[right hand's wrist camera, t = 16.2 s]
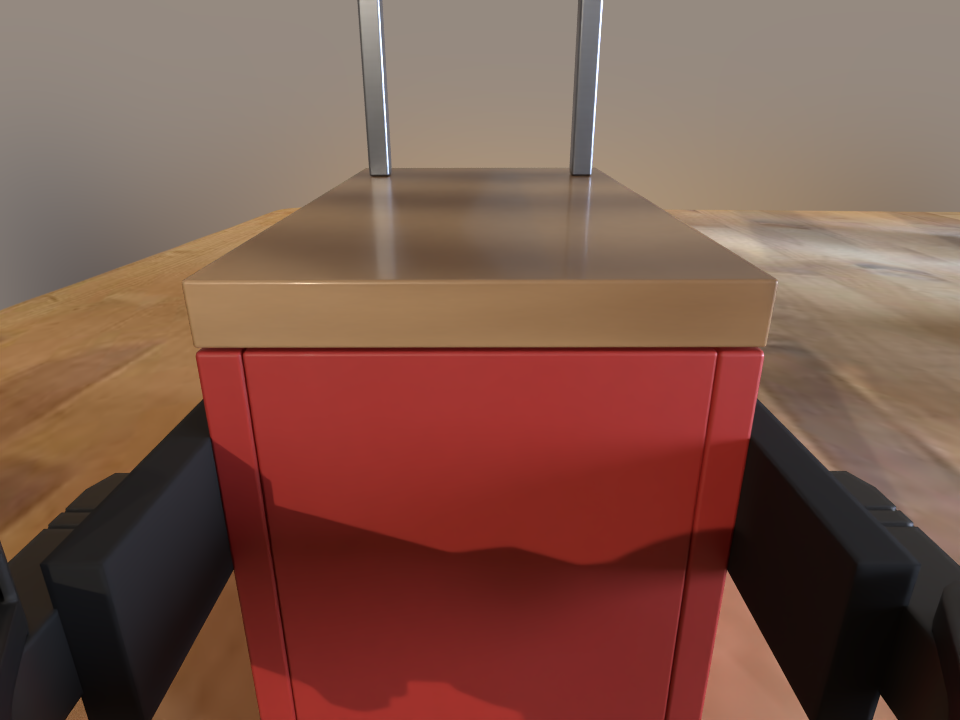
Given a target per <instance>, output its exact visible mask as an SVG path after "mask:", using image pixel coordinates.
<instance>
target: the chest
mask: <svg viewBox="0 0 960 720" xmlns="http://www.w3.org/2000/svg"><path fill="white" fill-rule="evenodd" d="M763 360H764V353H763V351H762V350H761V349H759V348H758V347H414V348H202V349H200V350H199V351H198V352H197V353H196V361H197V366H198V372H199V377H200V383H201V389H202V394H203V400H204V405H205V411H206V417H207V422H208V428H209V433H210V438H211V443H212V449H213V455H214V460H215V466H216V472H217V477H218V483H219V489H220V494H221V500H222V506H223V511H224V517H225V522H226V528H227V534H228V539H229V545H230V551H231V556H232V562H233V568H234V573H235V579H236V584H237V590H238V596H239V601H240V607H241V612H242V618H243V623H244V629H245V635H246V640H247V646H248V651H249V657H250V663H251V668H252V674H253V679H254V685H255V691H256V696H257V702H258V707H259V713H260V719H261V720H701V716H702V711H703V705H704V699H705V693H706V688H707V682H708V676H709V671H710V665H711V659H712V653H713V648H714V642H715V636H716V630H717V625H718V619H719V613H720V607H721V602H722V596H723V590H724V584H725V579H726V573H727V567H728V561H729V556H730V550H731V544H732V538H733V533H734V527H735V521H736V515H737V510H738V504H739V498H740V493H741V487H742V481H743V475H744V470H745V464H746V458H747V452H748V447H749V441H750V435H751V429H752V424H753V418H754V412H755V406H756V401H757V395H758V389H759V383H760V378H761V372H762V366H763Z"/></svg>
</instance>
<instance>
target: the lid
mask: <svg viewBox="0 0 960 720" xmlns="http://www.w3.org/2000/svg"><path fill="white" fill-rule="evenodd" d="M602 8H603V0H578V17H577V36H576V55H575V75H574V94H573V114H572V133H571V152H570V168H391V151H390V132H389V114H388V97H387V78H386V60H385V43H384V24H383V6H382V0H358V14H359V29H360V43H361V58H362V72H363V86H364V101H365V116H366V130H367V145H368V159H369V168H366V169H364V170H362V171H361V172H359V173H357V174H356V175H354V176H353V177H351V178H349V179H348V180H346V181H344V182H343V183H341V184H340V185H338V186H336V187H335V188H333V189H331V190H330V191H328V192H326V193H325V194H323V195H322V196H320V197H318V198H317V199H315V200H313V201H312V202H310V203H309V204H307V205H305V206H304V207H302V208H300V209H299V210H297V211H295V212H294V213H292V214H291V215H289V216H287V217H286V218H284V219H282V220H281V221H279V222H277V223H276V224H274V225H273V226H271V227H269V228H268V229H266V230H264V231H263V232H261V233H260V234H258V235H256V236H255V237H253V238H251V239H250V240H248V241H246V242H245V243H243V244H242V245H240V246H238V247H237V248H235V249H233V250H232V251H230V252H229V253H227V254H225V255H224V256H222V257H220V258H219V259H217V260H215V261H214V262H212V263H211V264H209V265H207V266H206V267H204V268H202V269H201V270H199V271H198V272H196V273H194V274H193V275H191V276H189V277H188V278H186V279H184V280H183V281H182V288H183V293H184V298H185V303H186V308H187V313H188V318H189V324H190V329H191V334H192V339H193V344H194V346H195V347H196V348H414V347H765V346H766V344H767V339H768V334H769V328H770V323H771V318H772V313H773V307H774V302H775V297H776V292H777V286H778V280H777V279H775V278H774V277H772V276H771V275H769V274H767V273H766V272H764V271H762V270H761V269H759V268H758V267H756V266H754V265H753V264H751V263H749V262H748V261H746V260H744V259H743V258H741V257H740V256H738V255H736V254H735V253H733V252H731V251H730V250H728V249H727V248H725V247H723V246H722V245H720V244H718V243H717V242H715V241H714V240H712V239H710V238H709V237H707V236H705V235H704V234H702V233H701V232H699V231H697V230H696V229H694V228H692V227H691V226H689V225H688V224H686V223H684V222H683V221H681V220H679V219H678V218H676V217H675V216H673V215H671V214H670V213H668V212H666V211H665V210H663V209H661V208H660V207H658V206H657V205H655V204H653V203H652V202H650V201H648V200H647V199H645V198H644V197H642V196H640V195H639V194H637V193H636V192H634V191H632V190H631V189H629V188H627V187H626V186H624V185H623V184H621V183H619V182H618V181H616V180H614V179H613V178H611V177H609V176H608V175H606V174H605V173H603V172H601V171H600V170H598V169H596V168H592V160H593V145H594V130H595V115H596V99H597V83H598V69H599V53H600V38H601V23H602Z"/></svg>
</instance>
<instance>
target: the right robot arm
mask: <svg viewBox="0 0 960 720" xmlns="http://www.w3.org/2000/svg"><path fill="white" fill-rule="evenodd" d="M48 526H49V527H48V529H43V530H42V531H41V532H40V533H39V534H38V535H37V536H36V537H35V538H34V539H33V540H32V541H31V542H30V543H29V544H27V545H26V546H25V547H24V548H23V549H22V550H21V551H20V552H19V553H18V554H17V555H16V556H15V557H14V558H13V559H11V560H10V561H9V562H7V559H6V556H5V554H4V551H3V548H2V545H1V542H0V720H65V719H66V718H67V716H68V715H69V713H70V712H71V711H72V709H73V708H74V706H75V705H76V703H77V702H78V700H79V699H80V698H81V697H82V701H83V704H84V707H85V710H86V713H87V716H88V720H152V718H153V716H154V714H155V712H156V710H157V709H158V707H159V705H160V703H161V701H162V700H163V698H164V696H165V694H166V692H167V690H168V689H169V687H170V685H171V683H172V681H173V679H174V678H175V676H176V674H177V672H178V670H179V668H180V667H181V665H182V663H183V661H184V659H185V657H186V656H187V654H188V652H189V650H190V648H191V647H192V645H193V643H194V641H195V639H196V637H197V636H198V634H199V632H200V630H201V628H202V626H203V625H204V623H205V621H206V619H207V617H208V615H209V614H210V612H211V610H212V608H213V606H214V604H215V603H216V601H217V599H218V597H219V595H220V594H221V592H222V590H223V588H224V586H225V584H226V583H227V581H228V579H229V577H230V575H231V573H232V572H233V570H234V568H233V562H232V556H231V551H230V545H229V539H228V534H227V528H226V522H225V517H224V511H223V506H222V500H221V494H220V489H219V483H218V477H217V472H216V466H215V460H214V455H213V449H212V443H211V438H210V433H209V428H208V422H207V417H206V411H205V405H204V400H202V401H201V402H200V403H199V404H198V405H197V406H196V407H195V408H194V409H193V410H192V411H191V412H190V413H189V414H188V415H187V416H186V417H185V418H184V419H183V420H182V421H181V422H180V423H179V424H178V425H177V426H176V427H175V428H174V429H173V430H172V431H171V432H170V433H169V434H168V435H167V436H166V437H165V438H164V439H163V440H162V441H161V442H160V443H159V444H158V445H157V446H156V447H155V448H154V449H153V450H152V451H151V452H150V453H149V454H148V455H147V456H146V457H145V458H144V459H143V460H142V461H141V462H140V463H139V464H138V465H137V466H136V467H135V468H134V469H133V470H132V471H131V472H130V473H115V474H113V475H111V476H109V477H107V478H106V479H104V480H102V481H100V482H99V483H97V484H95V485H93V486H91V487H90V488H88V489H86V490H85V491H84V492H83V493H82V494H81V495H80V496H79V497H78V498H76V499H75V500H74V501H73V502H72V503H71V504H70V505H69V506H68V507H67V508H66V511H65V513H60V514H59V515H58V516H57V517H56V518H55V519H54V520H53V521H52V522H51V523H50V524H49V525H48ZM727 570H728V572H729V574H730V576H731V578H732V579H733V581H734V583H735V585H736V587H737V589H738V590H739V592H740V594H741V596H742V598H743V600H744V601H745V603H746V605H747V607H748V609H749V611H750V612H751V614H752V616H753V618H754V620H755V621H756V623H757V625H758V627H759V629H760V631H761V632H762V634H763V636H764V638H765V640H766V642H767V643H768V645H769V647H770V649H771V651H772V653H773V654H774V656H775V658H776V660H777V662H778V663H779V665H780V667H781V669H782V671H783V673H784V674H785V676H786V678H787V680H788V682H789V684H790V685H791V687H792V689H793V691H794V693H795V695H796V696H797V698H798V700H799V702H800V704H801V706H802V707H803V709H804V711H805V713H806V715H807V716H808V718H809V720H872V719H873V716H874V713H875V710H876V707H877V703H878V700H879V697H880V695H881V696H882V697H883V699H884V700H885V702H886V703H887V705H888V706H889V708H890V709H891V710H892V712H893V713H894V715H895V716H896V718H897V719H898V720H960V566H959V565H958V564H957V563H956V562H955V561H954V560H953V559H952V558H951V557H949V556H948V555H947V554H946V553H945V552H944V551H943V550H942V549H941V548H940V547H939V546H938V545H937V544H936V543H934V542H933V541H932V540H931V539H930V538H929V537H928V536H927V535H926V534H925V533H924V532H923V531H922V530H920V529H919V528H918V527H914V526H913V522H912V521H911V520H910V519H909V518H908V517H907V516H905V515H904V514H903V513H902V512H901V511H900V510H896V506H895V505H894V504H893V503H892V502H890V501H889V500H888V499H887V498H886V497H885V496H884V495H883V494H882V493H881V492H880V491H879V490H878V489H876V488H875V487H874V486H872V485H870V484H868V483H866V482H865V481H863V480H861V479H859V478H857V477H856V476H854V475H852V474H850V473H848V472H847V471H828V470H827V469H826V468H825V467H824V466H823V465H822V463H821V462H820V461H819V460H818V459H817V458H816V457H815V456H814V455H813V454H812V453H811V452H810V451H809V450H808V449H807V448H806V447H805V446H804V445H803V444H802V443H801V442H800V441H799V440H798V439H797V438H796V437H795V436H794V435H793V434H792V433H791V432H790V431H789V430H788V429H787V428H786V427H785V426H784V425H783V424H782V423H781V422H780V421H779V420H778V419H777V418H776V417H775V416H774V415H773V414H772V413H771V412H770V411H769V410H768V409H767V408H766V407H765V406H764V405H763V404H762V403H761V402H760V401H759V400H758V399H757V401H756V406H755V412H754V418H753V424H752V429H751V435H750V441H749V447H748V452H747V458H746V464H745V470H744V475H743V481H742V487H741V493H740V498H739V504H738V510H737V515H736V521H735V527H734V533H733V538H732V544H731V550H730V556H729V561H728V567H727Z"/></svg>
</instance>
